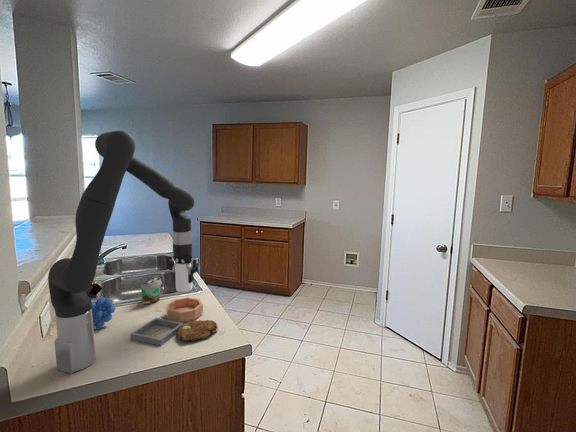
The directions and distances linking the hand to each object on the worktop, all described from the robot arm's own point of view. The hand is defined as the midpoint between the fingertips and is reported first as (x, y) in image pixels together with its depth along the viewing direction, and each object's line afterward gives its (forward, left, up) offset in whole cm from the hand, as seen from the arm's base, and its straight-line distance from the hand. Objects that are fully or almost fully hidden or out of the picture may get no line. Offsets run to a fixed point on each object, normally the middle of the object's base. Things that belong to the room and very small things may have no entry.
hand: (183, 281), depth 129 cm
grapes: (-20, +24, -15) cm, 35 cm away
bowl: (0, 0, -15) cm, 15 cm away
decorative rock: (-11, -14, -15) cm, 23 cm away
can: (0, 0, -4) cm, 4 cm away
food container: (+7, +21, -15) cm, 27 cm away
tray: (-16, 0, -15) cm, 22 cm away
